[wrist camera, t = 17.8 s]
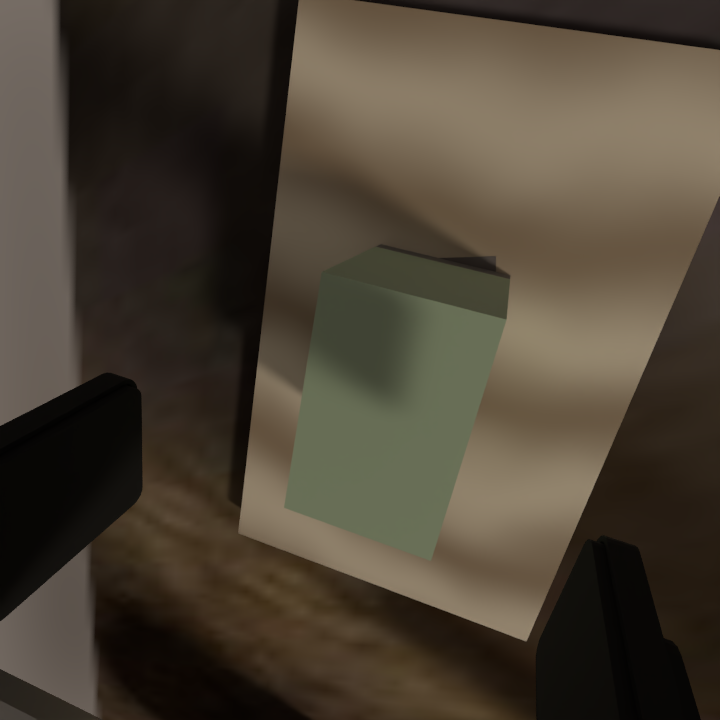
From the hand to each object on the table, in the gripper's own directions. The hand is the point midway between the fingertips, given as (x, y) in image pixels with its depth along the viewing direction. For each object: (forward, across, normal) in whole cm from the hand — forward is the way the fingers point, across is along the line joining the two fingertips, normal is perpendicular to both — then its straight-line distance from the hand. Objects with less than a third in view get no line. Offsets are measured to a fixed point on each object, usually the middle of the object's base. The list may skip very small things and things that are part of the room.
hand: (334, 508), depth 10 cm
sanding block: (+11, 0, +1) cm, 11 cm away
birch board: (+13, 0, +1) cm, 13 cm away
